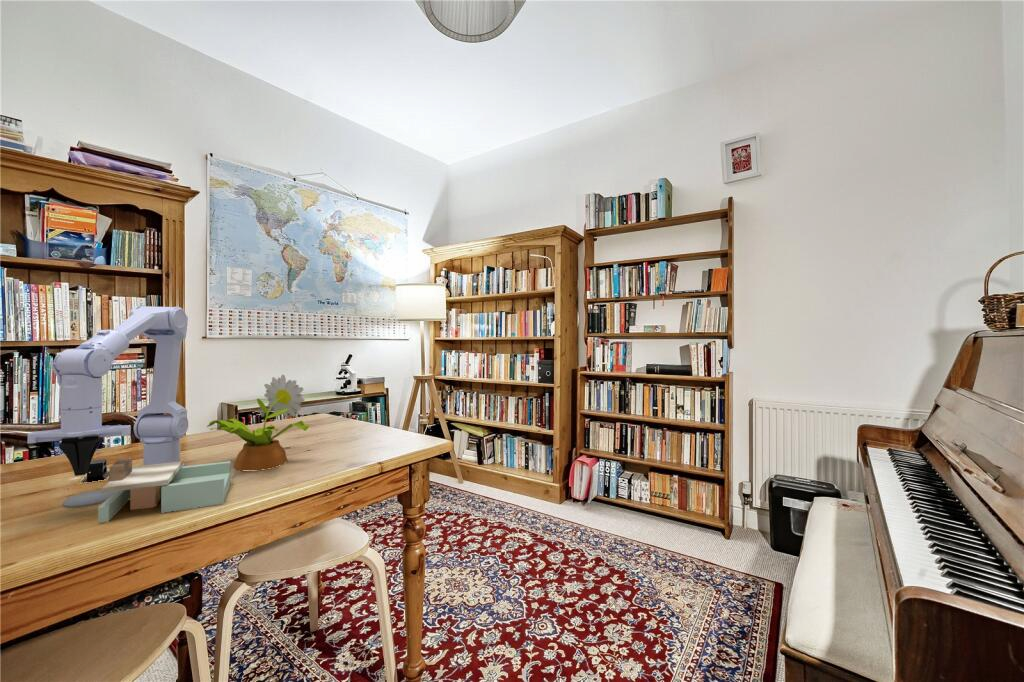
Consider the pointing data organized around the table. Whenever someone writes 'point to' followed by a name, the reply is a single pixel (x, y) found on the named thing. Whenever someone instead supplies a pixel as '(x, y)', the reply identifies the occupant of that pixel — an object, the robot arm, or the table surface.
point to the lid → (139, 475)
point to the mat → (87, 499)
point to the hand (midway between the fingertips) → (81, 474)
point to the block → (144, 497)
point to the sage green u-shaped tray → (181, 490)
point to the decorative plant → (259, 443)
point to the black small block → (97, 471)
